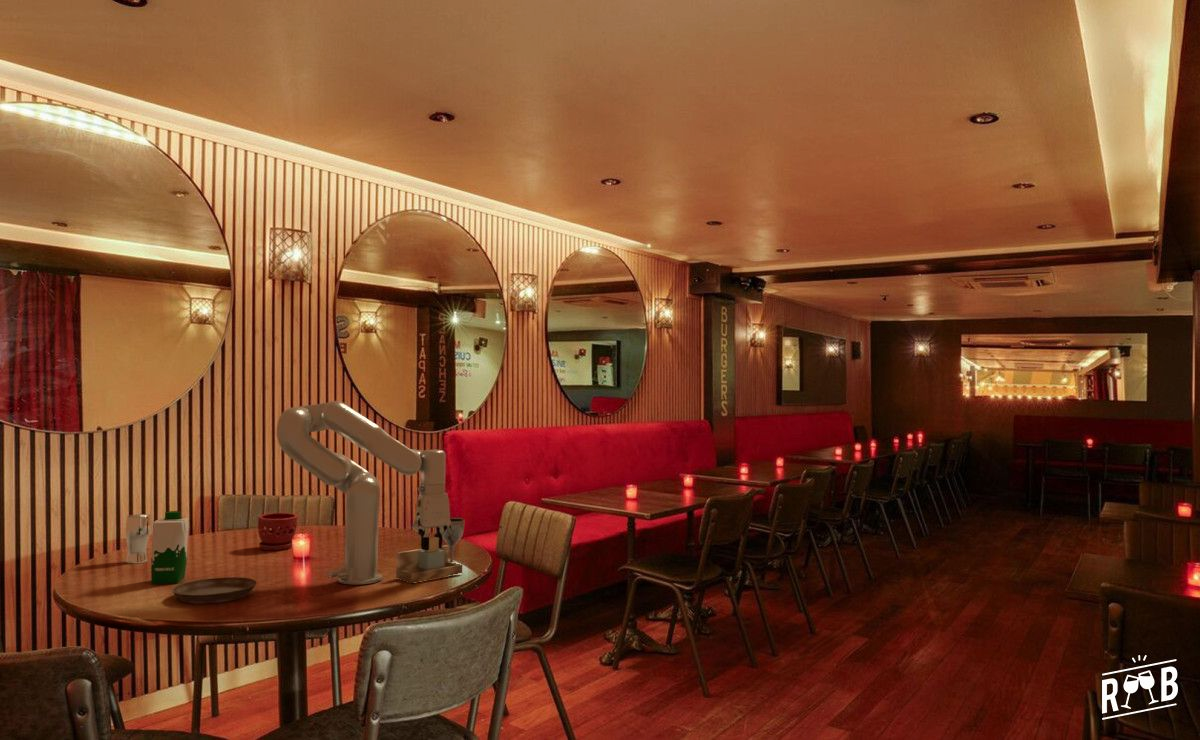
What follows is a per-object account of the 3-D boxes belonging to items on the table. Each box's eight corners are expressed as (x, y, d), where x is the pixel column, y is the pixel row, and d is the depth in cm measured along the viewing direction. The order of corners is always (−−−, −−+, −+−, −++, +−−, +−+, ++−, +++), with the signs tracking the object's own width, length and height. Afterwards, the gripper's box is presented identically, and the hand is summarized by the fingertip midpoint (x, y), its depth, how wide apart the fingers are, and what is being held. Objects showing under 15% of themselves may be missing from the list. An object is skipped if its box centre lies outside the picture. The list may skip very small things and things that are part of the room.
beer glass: (153, 560, 249) (155, 514, 249) (138, 564, 242) (141, 517, 242) (134, 559, 249) (136, 513, 250) (118, 563, 242) (121, 516, 243)
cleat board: (412, 584, 223) (413, 557, 223) (396, 578, 229) (396, 552, 229) (462, 574, 236) (462, 549, 236) (445, 570, 242) (446, 545, 243)
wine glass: (450, 568, 245) (451, 522, 245) (434, 564, 249) (435, 519, 250) (468, 564, 251) (469, 519, 252) (452, 561, 256) (453, 517, 256)
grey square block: (427, 569, 229) (428, 540, 229) (418, 567, 232) (419, 538, 232) (444, 566, 233) (444, 537, 233) (434, 564, 236) (435, 535, 237)
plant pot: (248, 550, 267) (250, 516, 268) (274, 543, 280) (275, 511, 280) (279, 553, 264) (280, 518, 264) (303, 546, 276) (305, 513, 277)
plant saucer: (162, 595, 206) (162, 583, 206) (240, 584, 220) (241, 572, 220) (185, 611, 191) (185, 598, 191) (267, 598, 205) (268, 585, 206)
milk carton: (188, 577, 226) (191, 510, 227) (180, 584, 217) (183, 515, 218) (156, 578, 224) (159, 511, 225) (146, 585, 215) (149, 515, 216)
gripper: (416, 492, 225) (415, 554, 224) (461, 488, 237) (460, 546, 236) (402, 490, 230) (401, 550, 229) (448, 486, 242) (447, 543, 241)
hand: (431, 547), depth 233 cm, fingers closed on grey square block, 4 cm apart
